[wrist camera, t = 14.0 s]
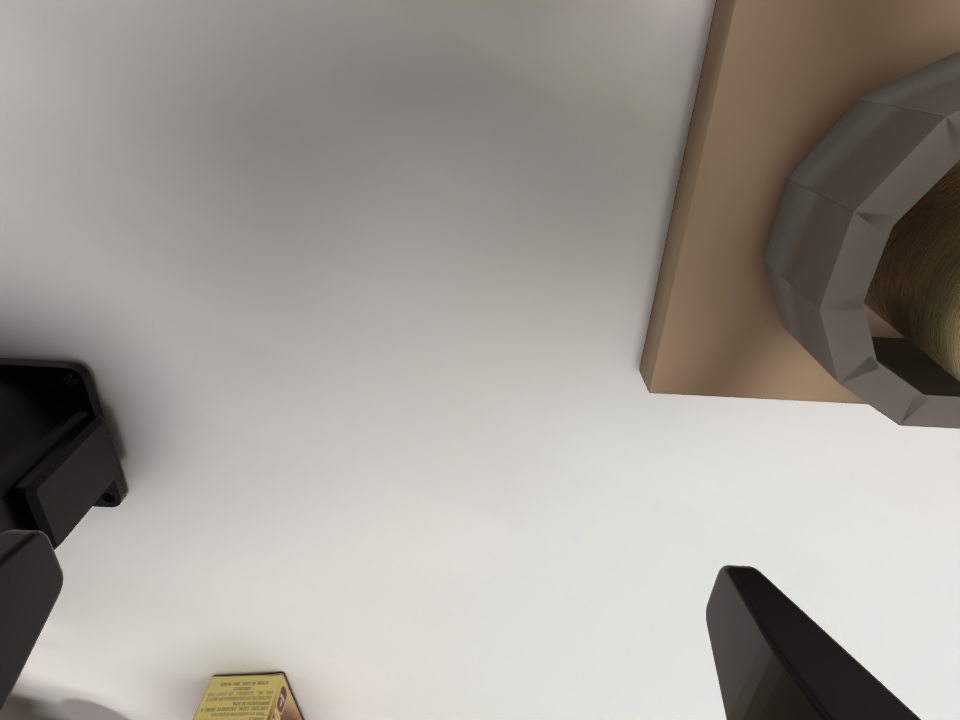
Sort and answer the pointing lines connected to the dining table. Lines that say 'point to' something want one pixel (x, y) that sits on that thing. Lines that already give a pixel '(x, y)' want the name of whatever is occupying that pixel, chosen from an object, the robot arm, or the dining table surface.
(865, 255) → the fitting board
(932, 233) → the gold two-tone capped cylinder
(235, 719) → the candy box
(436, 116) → the dining table surface
